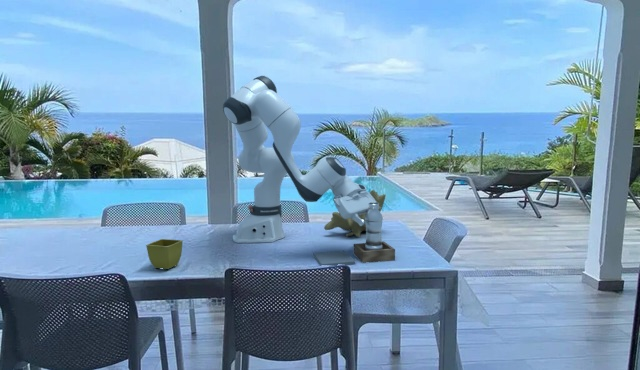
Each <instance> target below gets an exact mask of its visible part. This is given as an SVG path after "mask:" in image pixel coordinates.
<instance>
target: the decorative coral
mask: <svg viewBox="0 0 640 370" xmlns="http://www.w3.org/2000/svg"><path fill="white" fill-rule="evenodd" d="M369 193H370V194H371V195H372V197H373V198H374V199H375V201H376V202H377V203H379V209H378V210H379V211H380V212H381V211H382V210H383V206H384V204H385V203H384V202H385V201H386V193H384V194H381V195H379V194H378V192H377V191H376V190H374V189H371V190H370V191H369ZM365 215H366V213H365V214H361V215H358V217H359V218H361V219H363V220H364V221H365ZM337 228H340V229H342V230H343V231H349V232H347V233H346V237H347V238H349V237H351V236H355V237H357V238H359V237H361V233H362V232H364V231H365V232H366V225H365V224H364V225H363V226H360V225H359V224H358V223H357V222H355V221H354V220H353V219H352V218H348V219H344V218H343V217H342V216H341V215H340V213H339V212H337V211H334V212H332V217H331V219H330V221H329V222H327V223H326V224H325V225H324V230H325V231H331V230H333V229H334V230H335V229H337ZM350 231H351V232H350Z"/></svg>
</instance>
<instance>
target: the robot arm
mask: <svg viewBox="0 0 640 370" xmlns="http://www.w3.org/2000/svg"><path fill="white" fill-rule="evenodd" d="M222 111H223V114H224V116H225V117H226V118H227V120H228V121H230V122H231V123H232V124H233V125H234V126H235V128H236V131H237V133H238V136H239V137H240V140H241V142H242V147H243V148H242V150H241V151H240V153H239V155H238V161H237V162H238V164H239V165H238V166H239V167H240V168H241V170H242V171H244V172H245V171H246V172H249V173H253V174H263V178H262V181H261V182H258V183H257V184H256V185H255V187H254V189H253V194H254V195H253V198H254V204H253V205H251V204H250V205H248V210H249V215H248V216H246V217H245V218H244V219H243V220H242V221H240V223H239V224H238V227H237V231H236V233H234V234H233V235H232V241H233V242H234V243H237V244H238V243H239V244H242V243H243V244H247V243H248V244H249V243H273V242H276V241H278V240H281V239H283V238H285V237H286V233H285V232H284V228H283V223H282V215H283V212H282V211H283V210H282V209H283V208H282V204H281V188H282V187H281V186H282V183H283V180H284V178H285V177H286V175H288V177H289V178H290V180H291V181H292V183H293V185H294V187H295V188H296V190H297V193H298V195H299V196H300V198H301V199H303V201H305V202H306V203H307V202H308V203H317V202H318V201H319V200H320V199H321V198H322V197H323V196H324V195H325V194H326V193H327V192H328V191H329V190H330V191H331V192H332V194H333V199H332V200H333V203H334V206H335V207H336V208H335V209H337V211H338V213H340V215H341V216H342V217H343V218H344V219H348V218H352V219H353V220H354V221H355V222H357V223H358V224H359V225H360V226H363V225H364V224H365V221H364V220H363V219H361V218H359V217H358V215H361V214H365V213H367V212H368V210H369V208H368V207H369V203H371V202H376V201H375V199H374V198H373V197H372V195H371V194H370V191H368V190H367V187H366V186H365V185H363V184H360V183H357V182H354V180H353V179H352V178H350V177H349V175H348V174H347V169H346V168H345V166H344V165H343V164H342V162H341V161H340V160H339V159H338V158H336V157H334V156H333V157H332V156H327V155H326V156H324V157H322V158H320V159H319V160H318V161H317V163H316V164H315V166H314V167H312V169H310V170H309V171H308V172H307V173H306V174H303V173H302V172H301V170H300V169H299V167H298V166H297V164H296V162H295V157H294V153H293V152H292V148H293V145H294V144H295V142H296V139H297V138H298V136H299V134H300V130H301V125H302V124H301V118H300V117H299V116H298V114H297V112H295V110H294V108H292V106H290V104H289V103H288V102H287V101H286V100H285V99H284V98H283V97H282V96H280V95H279V93H278V91H277V87H276V84H275V83H274V82H273V81H272V79H271V78H269V77H268V76H265V75H260V76H256V77H255V78H253V80H251V81H249V82H247V83H246V84H244V85H242V86H241V87H240V88H239V89H238V90H236V91H235V92H234V93H233V94H232V95H231V96H229V97H228V98H227V99H226V100H225V101H224V102H223V104H222ZM268 129H269V131H270V133H271V135H272V139H273V143H272V147H271V146H270V147H267V146H265V145H264V144H265V143H266V142H267V139H268V137H269V131H268ZM376 203H377V202H376Z"/></svg>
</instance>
